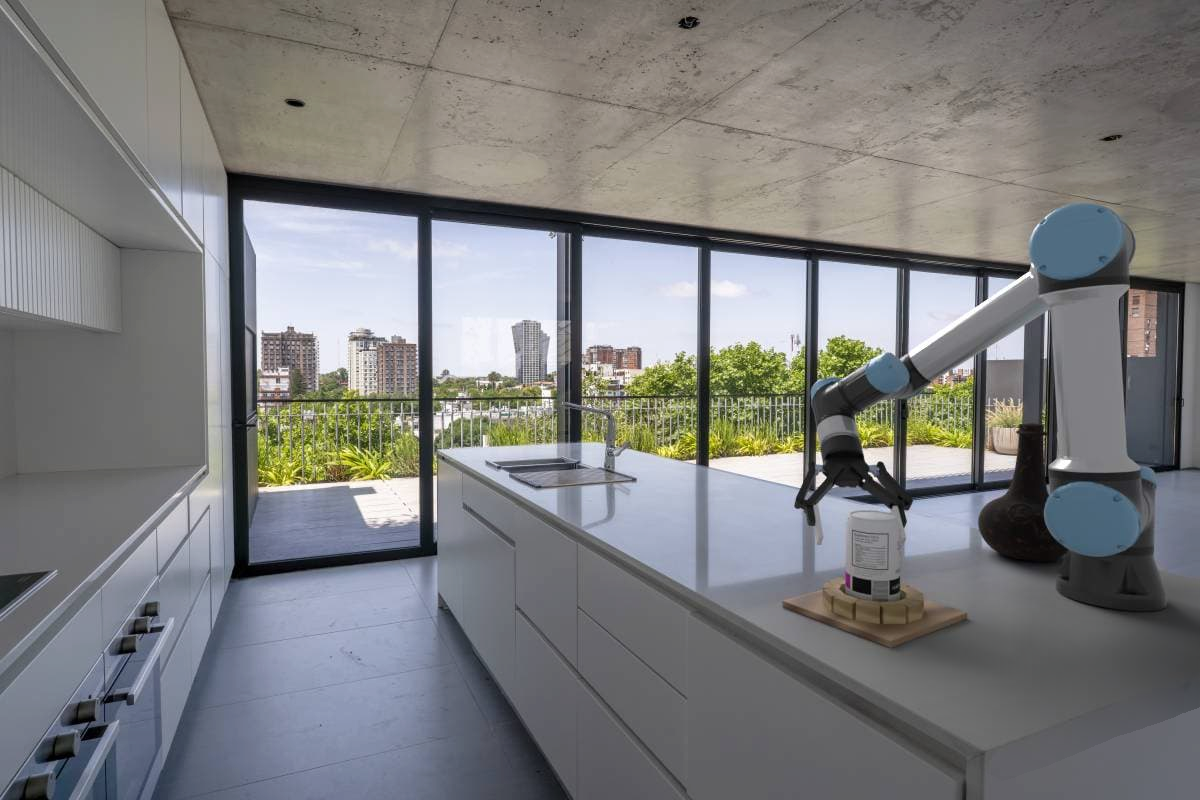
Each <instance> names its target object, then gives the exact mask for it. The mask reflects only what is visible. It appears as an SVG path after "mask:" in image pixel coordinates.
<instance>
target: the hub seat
mask: <svg viewBox="0 0 1200 800" xmlns="http://www.w3.org/2000/svg"><path fill="white" fill-rule="evenodd" d="M781 602H782V603H781V604H782V605H781V606H782V607H783V608H785V609H788V610H791V611H793V612H796V613H798V614H801V615H804V616H807V617H808V618H812V619H814V620H817V621H819V622H821V623H824V624H827V625H829V626H833V627H835V628H838V629H840V630H843V631H846V632H847V633H850V634H854V635H856V636H858V637H861V638H864V639H866V640H869V641H872V642H873V643H876V644H877V643H878V644H880V645H882V646H885V647H887V648H890V649H891V648H894V647H896V646H900V645H901V644H904V643H907V642H909V641H912V640H915V639H917V638H921V637H922V636H925V635H929V634H930V633H933V632H936V631H938V630H941V629H943V628H946V627H949V626H952V625H954V624H957V623H959V622H961V621H964V619H965V620H967V619H968V611H965V610H961V609H957V608H954V607H951V606H948V605H945V604H941V603H939V602H934V601H931V600H928V599H925V594H924V593H923V592H922V591H920V590H918V589H916V588H915V587H913V586H910V585H909V584H905V583H902V582H900V600H899V601H896V602H875V601H867V600H860V599H857V598H854V597H851V596H848V595H845V576H844V577H837V578H834V579H833V578H832V579H830V580H828V581H826V582H824V584H823V587H822V589H819V590H816V591H813V592H808V593H805V594H802V595H798V596H795V597H791V598H787V599H784V600H782V601H781ZM951 624H952V625H951Z"/></svg>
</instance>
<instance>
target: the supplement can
mask: <svg viewBox="0 0 1200 800" xmlns="http://www.w3.org/2000/svg"><path fill="white" fill-rule="evenodd" d="M900 539H901V526H900V524H899V522H898V521H897V519H896V516H895V515H894V514H891V513H890V512H887V511H880V510H871V509H870V510H869V509H866V510H865V509H864V510H853V511H850V512H849V516H848V518H846V521H845V553H844V554H845V555H844V556H845V557H844V558H845V564H844V565H845V567H844V568H845V569H844V571H845V572H844V573H845V576H844V577H845V595H848V596H851V597H854V598H857V599H860V600H867V601H875V602H896V601H899V600H900V583H901V546H900Z"/></svg>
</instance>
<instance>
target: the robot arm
mask: <svg viewBox="0 0 1200 800" xmlns="http://www.w3.org/2000/svg"><path fill="white" fill-rule="evenodd" d="M1136 245H1137V244H1136V238H1135V235H1134V232H1133V231H1132V229H1131V228H1130V227H1129V225H1127V223H1125V222H1124V221H1123V220H1122V219H1121V217H1120V216H1119V215H1118V214H1117V213H1116V212H1115V211H1114V210H1112V209H1110V208H1109V207H1107V206H1104V205H1100V204H1097V203H1096V204H1094V203H1091V202H1089V203H1088V202H1077V203H1072V204H1068V205H1064V206H1062V207H1060V208H1057V209H1055V210H1053V211H1052V212H1050V213H1048V214H1047V215H1046V216H1045V217H1044V218H1042V220H1040V221H1039V223H1038V224H1037V225H1036V226H1035V228H1034V229H1033V231H1032V233H1031V235H1030V239H1029V242H1028V253H1029V258H1030V262H1031V264H1030V268H1029V271H1028V272H1026V273H1024V274H1023V275H1022V276H1020V277H1019V278H1018V279H1016V280H1015V281H1013V282H1012V283H1010V284H1009V285H1007V286H1006V287H1004V288H1003V289H1001V290H1000V291H998V292H997V293H995V294H994V295H993V296H991V297H989V298H988V299H987V300H985V301H983V302H982V303H980V304H979V305H977V306H976V307H974V308H973V309H971V310H970V311H968V312H966V313H965V314H964V315H962V316H961V317H959V318H958V319H956V320H954V322H951V324H949V325H948V326H946V327H944V328H943V329H941V330H940V331H939V332H937V333H935V334H934V335H932V336H931V337H929V338H927V340H925V341H924V342H922V343H920V344H919V345H918V346H916V347H914V348H913V349H912V350H910V351H909V352H908V353H906V354H904V355H903V356H901V357H898V356H897V355H895V354H893V353H892V352H888V351H887V352H883V353H881V354H879V355H878V356H876V357H873V358H871V359H869V360H868V361H867V362H866V363H865V364H863V365H862V366H860V367H858V368H856V370H854V371H853V372H851V373H849V374H848V375H846V376H845V377H843V378H840V377H837V376H828V377H827V378H826V377H825V378H820V379H818V380H817V381H815V383H814V384H813V385H812V387H811V389H810V398H811V399H810V400H811V401H810V405H811V409H812V412H813V416H814V422H815V425H816V426H815V427H816V432H817V438H818V445H819V447H820V448H819V449H820V456H821V461H822V464H816V462H815V461H814V460H809V461H808V463H807V469H806V476H805V477H804V479H803V481H802V484H801V485H800V488H799V490H798V492H797V494H796V497H795V500H794V505H793V507H794V508H795V509H796V510H799V509H801V510H803V513H804V514H805V516H806V522H807V525H808V526H809V527H813V530H814V537H815V542H816V545H817V546H822V543H823V540H824V532H823V526H822V519H821V514H820V509H819V505H818V504H819V503H820V502H821V500H822V499H823V498H824V497H825V496H826V494H827V493H828V492H829V491H831V490H832V488H834V487H835V486H837V487H838V488H852V489H853V488H854V489H855V488H857V487H859V488H860V489H862V491H864V492H865V491H866V492H868V493H869V494H870V495H871V496H873V497H874V498H875V499H876V500H878V502H880V503H882V504H883V505H884V506H885V507H887V508H888V509H889V510H890V512H889V513H891V514H894V515H895V516H896V519H897V521H898V522H899V524H900V526H901V539H900V547H903V546H904V544H905V541H906V539H907V535H906V533H905V529H904V528H905V527H906V525H907V523H908V520H907V516H906V512H905V511H910V509H911V507H912V505H913V502H914V499H913V498H912V497H911V496H910V495H909V493H908V492H907V491H905V489H904V488H903V486H901V485H900V484H899V483H898V482H897V480H896V479H895V478H894V477H893V476H892V475H891V474H890V473H889V472H888V470H887V468H886V465H885V463H884V462H883V461H879V460H878V461H877V463H876V464H868V463H867V462H866V460H865V454H864V451H863V446H862V442H861V438H860V435H859V434H860V433H859V430H858V425H857V423H856V415H858V414H860V413H863V411H866V410H867V409H870V407H872V406H874V405H876V404H878V403H879V402H881V401H889V400H890V401H891V400H892V401H893V400H899V399H900V400H908V399H911V398H913V397H916V396H918V395H920V394H921V393H923V391H924V390H925V389H926V387H927V386H930V384H931V383H933V382H934V381H936V380H938V379H939V378H941V377H943V376H944V375H945V374H947V373H949V372H950V371H952V370H954V369H955V368H957V367H958V366H960V365H962V364H963V363H965V362H967V361H968V360H970V359H971V358H973V357H975V356H977V355H978V354H980V353H981V352H984V351H986V349H988V348H990V347H991V346H993V345H994V344H996V343H998V342H999V341H1001V340H1002V339H1005V338H1006V337H1008V336H1009V335H1011V334H1012V333H1014V332H1016V331H1017V330H1019V329H1021V328H1022V327H1023V326H1025V325H1027V324H1028V323H1029V324H1030V323H1031V322H1032V321H1034V320H1035V319H1037V318H1039V317H1040V316H1042V315H1043V314H1045V313H1046V312H1048V311H1050V318H1051V319H1050V321H1051V334H1052V335H1051V336H1052V355H1053V356H1052V357H1053V371H1054V372H1053V373H1054V388H1055V405H1056V406H1055V407H1056V423H1057V439H1058V456H1057V458H1056V459H1054V460H1053V461H1052V462H1051V463H1049V464H1048V482H1049V484H1048V485H1049V497H1048V498H1047V502H1046V503H1045V508H1044V519H1045V523H1046V526H1047V528H1048V530H1049V532H1050V533H1051V535H1052V536H1053V537H1054V538H1055V539H1056V540H1057V541H1058V542H1059V543H1060V544H1062V545H1063V546H1064V547H1066V548H1068V550H1067V552H1066V554H1065V555H1064V556H1063V559H1062V562H1061V564H1060V566H1059V569H1058V571H1057V573H1056V575H1055V576H1056V577H1055V589H1056V591H1057V593H1060V594H1061V595H1062V596H1065V597H1067V598H1070V599H1072V600H1074V601H1078V602H1081V603H1084V604H1088V605H1092V606H1098V607H1101V608H1107V609H1114V610H1119V611H1121V610H1122V611H1130V612H1132V611H1133V612H1153V611H1161V610H1163V609H1165V608H1166V607H1167V604H1168V603H1167V598H1168V593H1167V589H1166V586H1165V584H1164V581H1163V579H1162V576H1161V574H1160V570H1159V568H1158V565H1157V563H1156V560H1155V526H1156V525H1155V524H1156V522H1155V521H1156V517H1155V516H1156V490H1157V488H1158V483H1157V479H1156V477H1157V476H1156V472H1155V471H1154V470H1153V469H1152V468H1150V467H1147V466H1143V465H1141V466H1140V465H1139V464H1138V463H1136V462H1135V461H1134V460H1133V459H1131V458H1130V457H1129V456H1128V451H1127V450H1128V449H1127V434H1126V431H1127V430H1126V415H1125V414H1126V413H1125V397H1124V383H1123V382H1124V381H1123V366H1122V365H1123V363H1122V350H1121V349H1122V347H1121V333H1120V332H1121V331H1120V315H1119V314H1120V312H1119V300H1120V298H1121V297H1122V296H1123V295H1124V294H1125V293H1126V292H1127V291H1128V290H1129V289H1130V288H1131V283H1130V265H1131V263H1132V261H1133V259H1134V257H1135V253H1136V247H1137V246H1136ZM820 473H822V475H824V476H825V477H826V478H825V479H824V480H823V481H822V482H821V484H820V485H819V486H818V488H816V489H815V491H814V492H813V493H812V494H811V495H810V496H809V497H808V498H807V499H806V497H807V494H808V493H809V490H810V488H811V486H812V483H813V481H814V478H816V477H817V476H819V474H820ZM870 473H871V474H872V475H871V474H870ZM873 477H874V478H876V479H877V480H878V482H879V483H878V482H877V481H876V480H874V478H873Z"/></svg>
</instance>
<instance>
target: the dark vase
mask: <svg viewBox="0 0 1200 800" xmlns="http://www.w3.org/2000/svg"><path fill="white" fill-rule="evenodd" d="M1044 428H1045V425H1044V424H1041V423H1034V422H1033V423H1019V424H1018V430H1016V432H1015V433H1016V434H1017V435H1018V440H1017V442H1018V443H1017V451H1016V459H1015V465H1014V471H1013V475H1012V480H1011V483H1010V485H1009V488H1008V490H1007V491H1006V493H1005V494H1004V495H1002V496H1000V497H998V498H995V499H992V500H991V501H989V502H987V503H986V504H985V505H984V506H983V508H981V510H980V513H979V515H978V520H977V525H978V527H977V528H978V530H979V533H980V536H981V538H982V539H983V540H984V541H985V543H986V544H987V545H988V547H990V548H991V549H992V551H993V550H994V551H995V552H996V553H998V554H1000V555H1002V556H1005V557H1008V558H1013V559H1016V560H1021V561H1029V562H1030V561H1031V562H1044V563H1045V562H1052V561H1056V560H1058V559H1061V558H1064V557H1065V554H1066V552H1067V550H1068V548H1066V547H1064V546H1063V545H1062V544H1060V543H1059V542H1058V541H1057V540H1056V539H1055V538H1054V537H1053V536H1052V535H1051V533H1050V532H1049V530H1048V528H1047V526H1046V523H1045V519H1044V508H1045V503H1046V502H1047V498H1048V497H1049V496H1050V493H1049V491H1048V487H1047V481H1046V473H1045V472H1046V471H1045V454H1044V453H1045V452H1044V451H1045V450H1044V436H1045V437H1046V436H1049V432H1046V431H1045V430H1044Z"/></svg>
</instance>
